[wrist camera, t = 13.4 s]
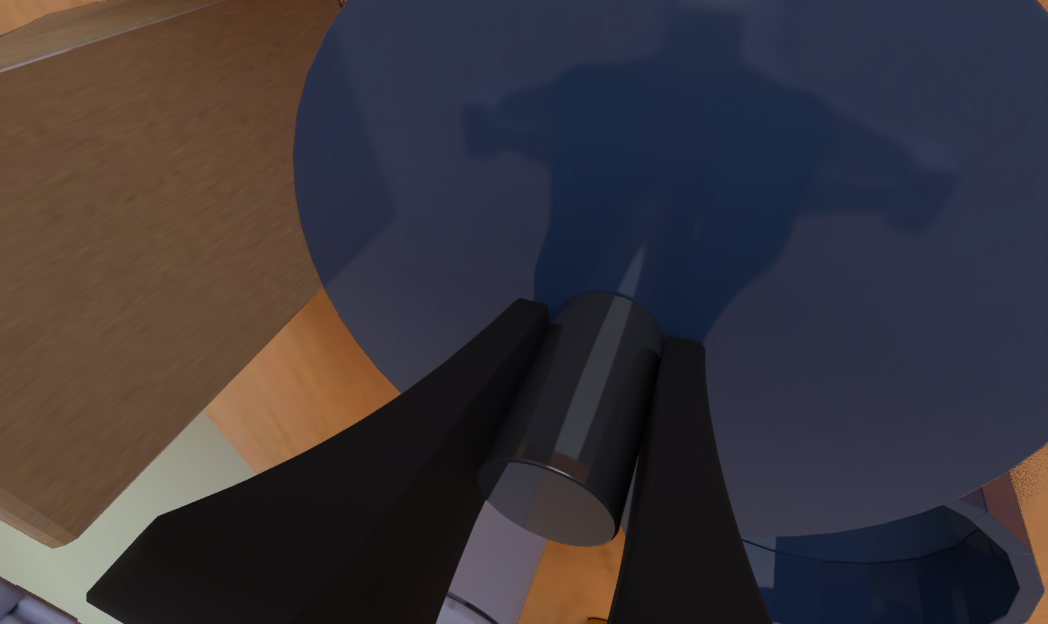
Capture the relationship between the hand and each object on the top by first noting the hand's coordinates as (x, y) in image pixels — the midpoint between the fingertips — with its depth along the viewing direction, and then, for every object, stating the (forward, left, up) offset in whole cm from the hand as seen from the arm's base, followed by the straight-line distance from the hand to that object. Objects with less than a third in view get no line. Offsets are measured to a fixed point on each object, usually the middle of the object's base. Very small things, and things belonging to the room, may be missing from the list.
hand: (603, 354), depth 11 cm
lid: (0, 0, -1) cm, 1 cm away
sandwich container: (-18, -1, -9) cm, 20 cm away
